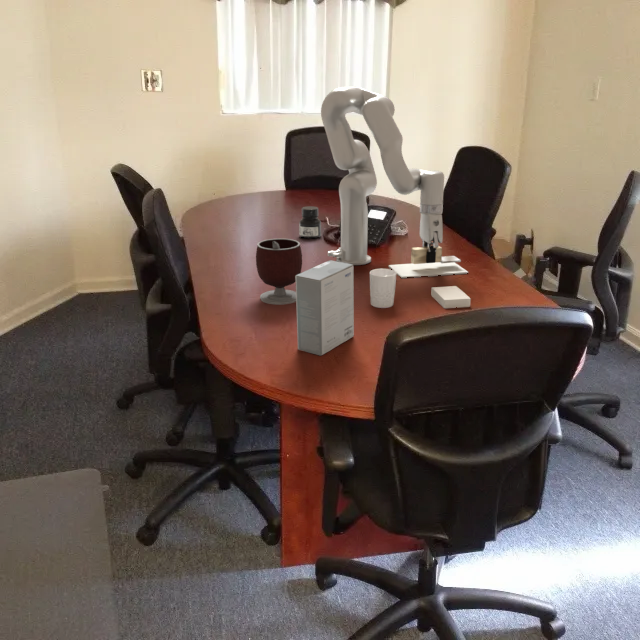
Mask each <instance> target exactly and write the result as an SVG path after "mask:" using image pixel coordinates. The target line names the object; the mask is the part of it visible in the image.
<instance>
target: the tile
mask: <svg viewBox="0 0 640 640" xmlns="http://www.w3.org/2000/svg"><path fill="white" fill-rule="evenodd" d="M430 291H431V293H430V296H431V297H432V298H433V299H434V300H435V301H436V302H437V303H438V304H439V305H440V306H441V307H442V308H443V309H455V308H456V307H457V308H469V307H471V299H472V298H470V296H468V295H467V294H466V293H465V292H464V291H463V290H462V289H460V288H459V287H458V286H457V285H452V286H449V285H448V286H437V287H436V286H435V287H433V286H432V287H431V289H430ZM457 308H456V309H457Z"/></svg>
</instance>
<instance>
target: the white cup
mask: <svg viewBox="0 0 640 640" xmlns="http://www.w3.org/2000/svg"><path fill="white" fill-rule="evenodd" d="M396 283H397V273H396V271H394V270H391V269H390V268H375V269H372V270H370V271H369V291H370V292H369V295H370V305H371V306H373V307H374V308H379V309H380V308H381V309H386V308H392V307H393V306H394V304H395V303H394V301H395V295H396V293H395V292H396Z"/></svg>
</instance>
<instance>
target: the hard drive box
mask: <svg viewBox="0 0 640 640" xmlns="http://www.w3.org/2000/svg"><path fill="white" fill-rule="evenodd" d="M354 270H355V269H354V265H353V264H348V263H343V262H337V260H327V261H325V262H322V263H321V264H318V265H316V266H314V267H312V268H309V269H307V270H304V271H303V272H302V271H301V273H300V274H298V275H296V276H295V278H296V282H295V292H296V302H295V303H296V306H295V307H296V331H297V333H296V334H297V336H296V337H297V350H299V351H302V352H306V353H309V354H312V355H313V354H314V355H316V356H320V357H321V356H323V355H325V354H326V353H328V352H330V351H331V350H333V349H335V348H336V347H338V346H339V345H341V344H343V343H345V342H346V341H348V340H350V339H351V338H353V337H354V336H355V325H354V324H355V322H354V319H355V315H354V314H355V313H354V311H355V310H354V309H355V308H354V307H355V306H354V305H355V304H354V303H355V302H354V299H355V298H354V296H355V295H354V293H355V291H354V286H355V285H354V284H355V283H354V282H355V281H354Z"/></svg>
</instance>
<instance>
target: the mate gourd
mask: <svg viewBox="0 0 640 640" xmlns="http://www.w3.org/2000/svg"><path fill="white" fill-rule="evenodd" d="M255 265H256V270H257V274H258V276H259V278H260V280H261V281H262V282H263V283H264V284H265V285H268V286H271V287H274V288H275V289H272V290H267V291H265V292H263V293H261V294H260V296H259V298H260V299H261V300H260V301H261V302H263V303H265V304H267V305H268V304H269V305H277V306H278V305H290V304H293V303H296V290H292V289H291V290H290V289H285V287H288V286H291V285H293V284H296V278H295V276H296V275H298V274H300V273H302V266H303V253H302V247H301V242H299V240H296V239H291V238H269V239H263V240H261V241H258V242H257V244H256V253H255Z"/></svg>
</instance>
